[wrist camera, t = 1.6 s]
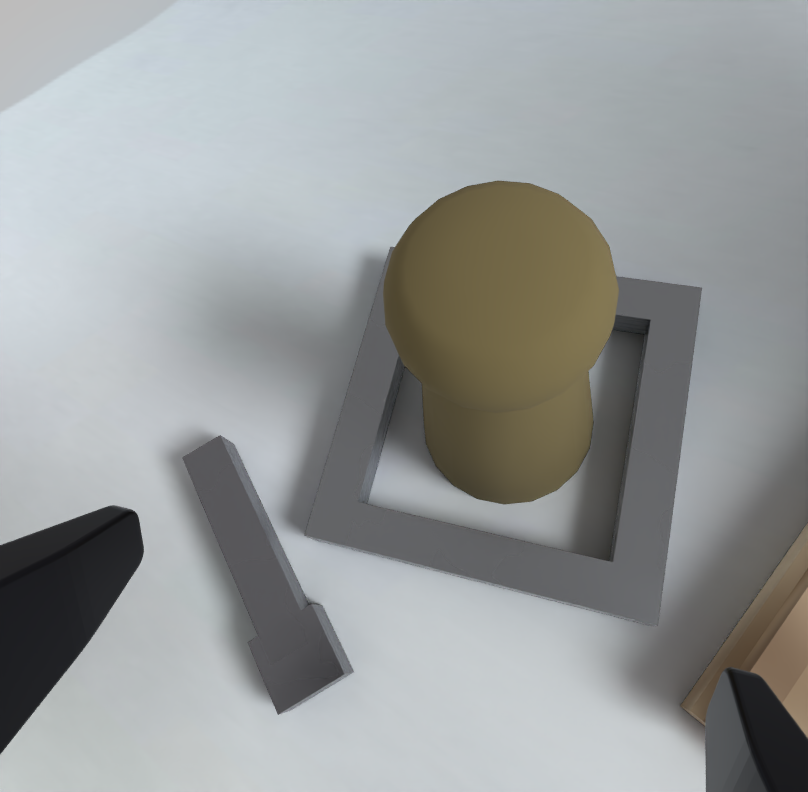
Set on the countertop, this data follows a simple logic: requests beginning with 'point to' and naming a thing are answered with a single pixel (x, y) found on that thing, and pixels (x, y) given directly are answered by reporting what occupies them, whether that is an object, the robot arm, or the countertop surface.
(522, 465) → the cork
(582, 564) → the socket collar
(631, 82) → the countertop surface
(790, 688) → the tray
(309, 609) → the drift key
